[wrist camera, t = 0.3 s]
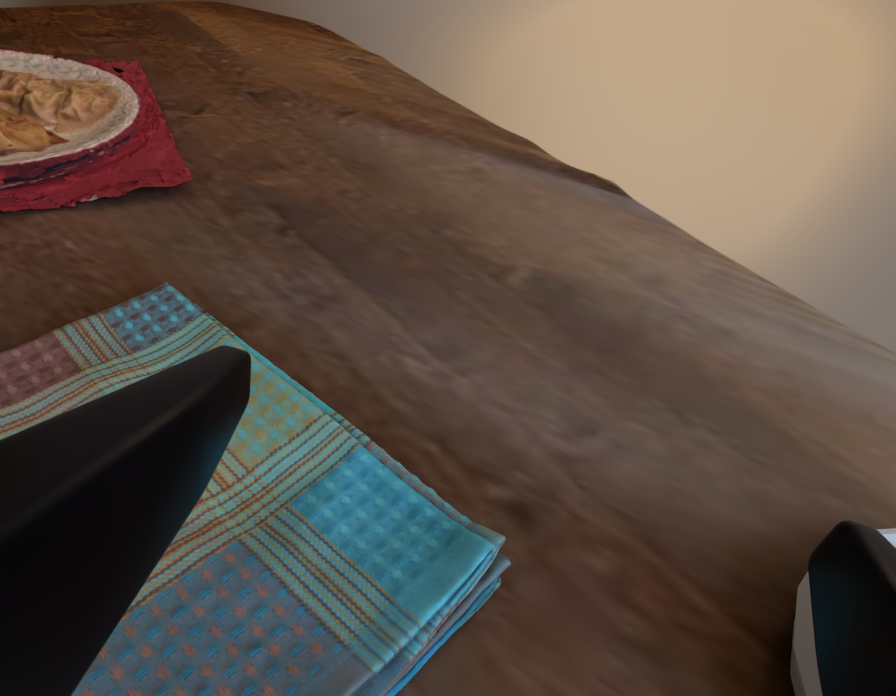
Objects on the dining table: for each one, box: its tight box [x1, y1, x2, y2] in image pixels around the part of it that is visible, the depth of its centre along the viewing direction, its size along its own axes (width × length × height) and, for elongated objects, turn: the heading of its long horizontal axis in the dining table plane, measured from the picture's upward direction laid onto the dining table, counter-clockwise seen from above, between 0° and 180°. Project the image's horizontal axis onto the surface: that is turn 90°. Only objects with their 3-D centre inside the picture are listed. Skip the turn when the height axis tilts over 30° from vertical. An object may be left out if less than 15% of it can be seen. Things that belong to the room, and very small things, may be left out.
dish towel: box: [0, 283, 511, 696], centre depth 24 cm, size 17×23×2 cm
